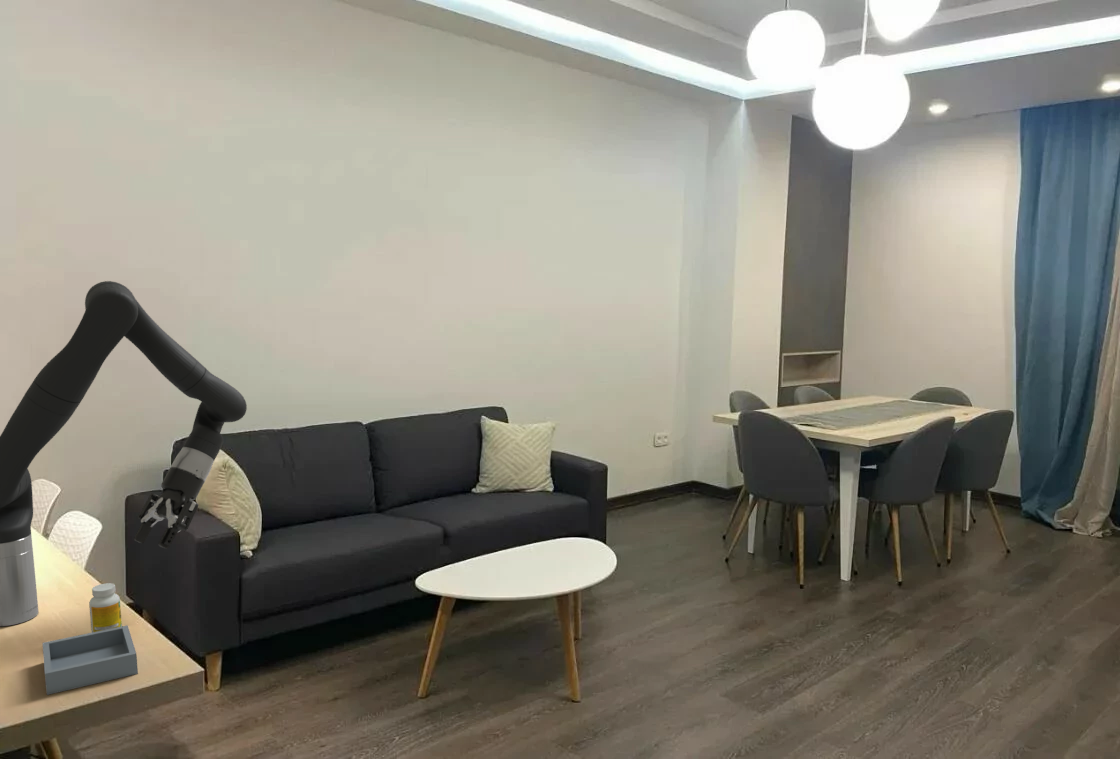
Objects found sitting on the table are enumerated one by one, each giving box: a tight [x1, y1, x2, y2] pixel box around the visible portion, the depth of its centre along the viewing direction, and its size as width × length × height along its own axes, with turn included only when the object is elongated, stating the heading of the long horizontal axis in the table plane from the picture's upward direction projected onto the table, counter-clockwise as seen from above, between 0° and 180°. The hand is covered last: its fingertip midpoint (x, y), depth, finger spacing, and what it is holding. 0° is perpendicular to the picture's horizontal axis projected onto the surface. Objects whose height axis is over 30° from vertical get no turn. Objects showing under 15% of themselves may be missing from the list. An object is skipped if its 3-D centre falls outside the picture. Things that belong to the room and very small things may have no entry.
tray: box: [42, 624, 139, 696], centre depth 155 cm, size 14×14×4 cm
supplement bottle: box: [88, 582, 123, 633], centre depth 169 cm, size 5×5×10 cm
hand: (150, 544), depth 176 cm, fingers open, 8 cm apart
